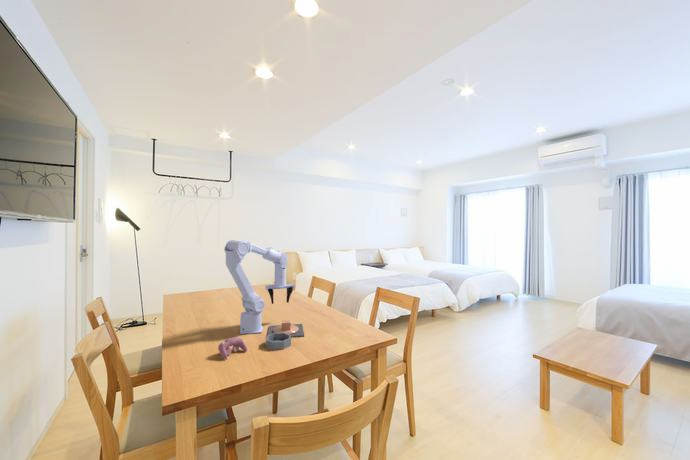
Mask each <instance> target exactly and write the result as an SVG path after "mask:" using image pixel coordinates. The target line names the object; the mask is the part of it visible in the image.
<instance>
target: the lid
mask: <svg viewBox="0 0 690 460" xmlns="http://www.w3.org/2000/svg"><path fill="white" fill-rule="evenodd" d="M291 324H292V323H291V319H283V320H281V324H279V325H280V326H277V327H275V328H274V329H273V333H287V334H290V335H292V334H295V333H297V332H298V330H299V328H298V327H297V326H295V325H291Z"/></svg>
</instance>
